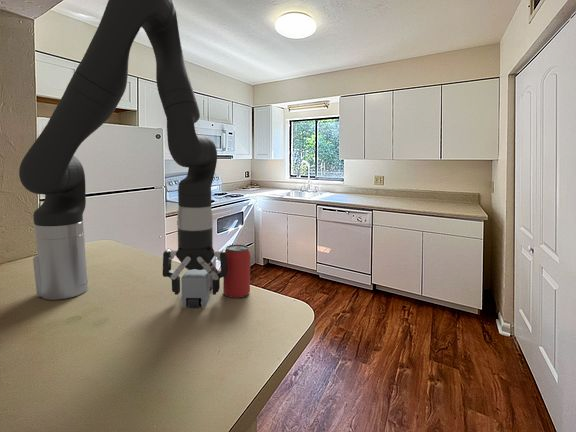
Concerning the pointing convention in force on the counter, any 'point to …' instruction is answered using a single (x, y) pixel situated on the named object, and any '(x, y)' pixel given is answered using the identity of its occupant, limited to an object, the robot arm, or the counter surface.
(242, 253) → the beer can
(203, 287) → the grey block
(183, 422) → the counter surface
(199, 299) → the rail
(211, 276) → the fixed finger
